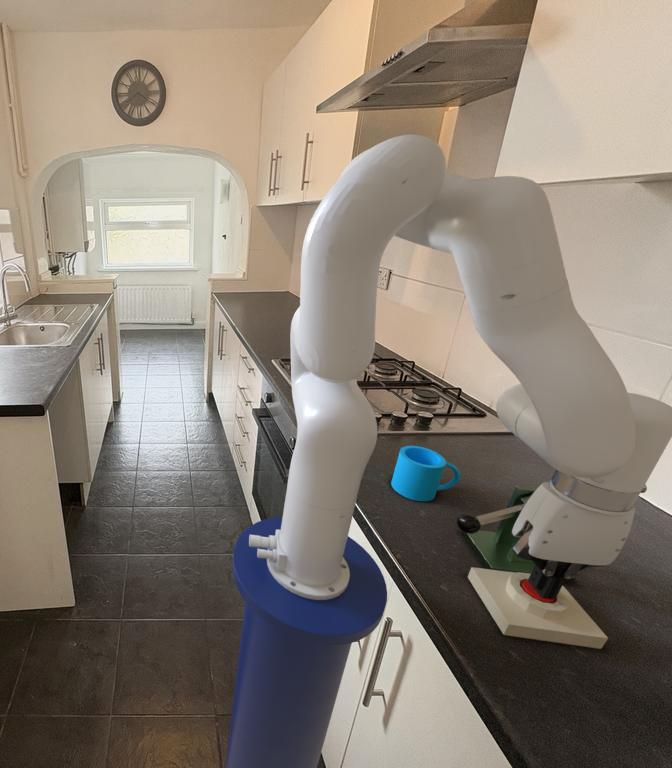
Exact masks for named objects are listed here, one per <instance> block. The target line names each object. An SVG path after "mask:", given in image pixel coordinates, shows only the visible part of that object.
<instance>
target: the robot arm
mask: <svg viewBox="0 0 672 768" xmlns="http://www.w3.org/2000/svg"><path fill="white" fill-rule="evenodd" d="M446 160H447V159H446V157H445V153H444V151H443V149H442V147H441V145H440V144H439V143H438V142H436V141H435V140H434V139H432V138H430V137H428V136H426V135H422V134H416V133H413V134H411V133H410V134H409V133H408V134H402V135H398V136H394V137H391V138H387V139H386V140H384V141H382V142H380V143H377V144H375V145H374V146H372V147H370V148H369V149H366V150H364V151H362V152H361V153H359V154H357V155H356V156H355V157H354V158H353V159H352V160H351V161H350V162H349V163H347V165H346V166H345V167H344V169H343V171H341V174H340V175H339V178H338V179H337V180H336V181H335V182H334V183H333V185H332V186H331V187H330V188H329V190H328V191H327V192H326V194H325V195H324V197H323V198H322V200H321V201H320V203H319V204H318V206H317V208H316V209H315V211H314V213H313V214H312V217H311V218H310V221H309V223H308V226H307V229H306V231H305V235H304V239H303V243H302V249H301V250H302V251H301V259H300V285H299V306H298V308H297V309H296V310H295V312H294V314H293V316H292V320H291V323H290V334H289V338H290V339H289V341H290V376H291V397H292V403H293V407H294V412H295V413H294V414H295V418H296V425H297V426H296V427H297V431H296V441H295V445H294V449H293V452H292V456H291V460H290V466H289V471H288V476H287V486H286V493H285V499H284V506H283V511H282V517H283V518H282V524H281V530H278V529H276V533H275V536H273V535H269V537H261V536H258V535H249V547H255V548H260V547H261V548H268V550H264V549H257V558H264V559H266V558H267V566H268V568H269V571H270V572H271V574H272V576H273V577H274V578H275V579H276V581H277V582H278V583H279V584H281V585H282V586H283V587H284V588H285V589H287V590H289V591H290V592H292V593H294V594H296V595H298V596H301V597H304V598H308V599H313V600H328V599H333V598H335V597H337V596H339V595H340V594H342V593H343V592H344V591H345V589H346V588H347V586H348V582H349V577H350V572H349V567H348V565H347V562H346V561H345V559H344V557H343V554H344V550H345V546H346V542H347V537H348V536H349V533H350V530H351V524H352V520H353V516H354V512H355V509H356V503H357V499H358V494H359V490H360V487H361V482H362V479H363V475H364V473H365V470H366V467H367V464H368V463H369V461H370V458H371V456H372V455H373V452H374V450H375V448H376V444H377V441H378V422H377V419H376V415H375V412H374V410H373V408H372V406H371V404H370V402H369V401H368V399H367V398H366V396H365V394H364V392H363V391H362V390H361V388H360V386H359V385H358V378H359V377H360V376H361V375H362V374H363V373H364V372H366V370H367V369H368V368H369V365H370V364H371V363H372V360H373V357H374V354H375V349H376V318H377V317H376V316H377V315H376V314H377V295H378V294H377V293H378V292H377V291H378V282H379V275H380V268H381V262H382V258H383V256H384V254H385V253H384V252H385V251H386V249H387V247H388V245H389V243H390V242H391V240H392V239H393V237H397V238H398V239H399V238H400V239H402V240H404V241H408V242H410V243H413V244H416V245H419V246H422V247H426V248H430V249H432V250H435V251H439V252H442V253H445V254H450V255H452V256H453V259H454V263H455V265H456V269H457V273H458V275H459V278H460V282H461V284H462V288H463V291H464V294H465V298H466V300H467V301H466V302H467V304H468V307H469V308H468V309H469V310H470V314H471V317H472V321H473V324H474V327H475V330H476V332H477V333H478V334H479V336H480V337H481V339H482V340H483V342H484V343H485V345H486V346H487V347H488V348H489V350H490V351H491V352H492V353H493V354H494V356H496V357H497V358H498V359H499V360H500V361H501V362H502V363H503V364H504V365H505V366H506V368H508V369H509V370H510V372H512V374H513V375H514V376H515V378H516V379H517V381H518V382H519V383H518V384H515V385H513V386H511V387H508V388H507V389H506V390H505V391H503V392H502V393H501V394H500V396H499V397H498V399H497V401H496V405H495V410H496V415H497V417H498V419H499V420H500V422H501V423H502V425H503V426H505V428H506V429H507V430H509V431H510V433H512V434H513V435H514V436H515V437H516V438H518V439H519V440H520V441H521V442H522V443H523V444H525V445H526V446H527V447H528V448H530V449H531V450H532V451H533V452H535V454H537V455H538V456H539V457H540V458H541V459H542V460H543V461H545V462H546V463H547V464H548V465H549V466H550V467H552V468H553V469H554V473H553V475H552V478H551V479H550V481H543V482H542V483H541V484H540V485H539V486H538V487H536V488H537V489H536V491H535V492H534V493H533V494H532V496H531V497H530V498H529V500H528V501H527V503H526V504H525V506H524V508H523V509H522V511H521V513H520V515H519V516H518V518H517V520H516V522H515V524H514V527H513V530H512V534H513V535H514V536H515V537H518V538H520V540H519V541H518V542H517V543H516V544H515V545H514V547H513V548H512V550H513V552H514V553H515V554H516V555H517V557H519V558H522V559H525V560H528V561H533V562H534V563H535V566H534V568H533V570H532V572H531V574H530V576H529V579H528V581H529V583H530V584H531V585H532V587H533V588H534V589H535V590H536V592H537V593H538V594H539V596H540V597H541V598H547V597H549V598H550V599H556V597H557V595H558V593H559V591H560V589H561V587H562V585H563V586H564V583H566V582H565V579H571V578H573V577H575V576H576V575H577V573H578V572H580V571H582V570H585V569H587V568H603V567H605V566H609V565H611V564H612V563H613V562H615V560H616V559H617V558H618V556H619V555H620V553H621V551H622V549H623V547H624V545H625V543H626V541H627V539H628V537H629V534H630V531H631V528H632V526H633V522H634V518H635V512H636V506H635V504H636V502H637V500H638V498H639V497H640V495H641V494H644V493H646V492H647V490H648V487H647V482H648V480H649V478H650V476H651V475H652V473H653V471H654V470H655V468H656V466H657V465H658V462H659V461H660V459H661V457H662V456H663V454H664V452H665V450H666V449H667V446H668V445H669V443H670V441H671V439H672V406H671V405H670V404H667V403H666V402H663V401H661V400H658V399H656V398H653V397H650V396H646V395H643V394H638V393H633V392H628V391H627V388H626V385H625V383H624V380H623V378H622V377H621V374H620V373H619V371H618V369H617V368H616V366H615V365H614V362H613V361H612V360H611V358H610V357H609V356H608V354H607V352H606V351H605V350H604V348H603V347H602V346H601V344H600V342H599V341H598V339H597V338H596V336H595V334H594V333H593V331H592V329H591V328H590V326H589V325H588V324H587V323H586V321H585V320H584V318H583V317H582V316H581V314H580V313H579V312H578V310H577V309H576V307H575V303H574V301H573V298H572V293H571V289H570V284H569V280H568V277H567V273H566V269H565V265H564V264H565V263H564V259H563V256H562V251H561V247H560V241H559V238H558V234H557V233H558V232H557V229H556V224H555V221H554V217H553V211H552V209H551V205H550V201H549V199H548V196H547V194H546V192H545V190H544V189H543V188H542V186H541V185H540V184H539V183H538V182H536V181H535V180H532V179H529V178H527V177H523V176H516V175H502V176H490V177H482V178H471V177H467V176H462V175H458V174H455V173H451V172H449V171H447V161H446ZM544 559H545V560H544Z"/></svg>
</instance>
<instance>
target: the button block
mask: <svg viewBox="0 0 672 768" xmlns="http://www.w3.org/2000/svg"><path fill="white" fill-rule="evenodd" d="M529 576H530V574H529V573H521V572H517V573H515V572H506V571H498V570H490V569H487V568H481V567H472V566H471V567H470V570H469V572H468V575H467V579H468V581H469V582H470V583H471V585H472V587H473V588H474V590H475V592H476V593H477V595H478V596H479V598H480V599H481V601H482V603H483V604H484V606H485V608H486V609H487V611H488V612H489V614H490V616H491V617H492V619H493V620H494V622H495V624H496V626H497V627H498V628H499V630H500V632H501V633H502V634H503V636H509V637H515V638H523V639H530V640H536V641H543V642H545V641H546V642H551V643H558V644H565V645H571V646H578V647H586V648H592V649H599V650H600V649H602V648H604V646H605V644H606V642H607V641H608V639H609V637H608V636H607V635H606V634H605V632H603V630H602V629H601V628H600V627H599V625H598V624H597V623H596V622H595V621H594V620H593V618H591V616H590V615H589V614H588V613H587V612H586V610H584V608H583V607H582V606H581V605H580V604H579V602H578V601H577V600H576V598H574V597H573V596H572V594H571V592H569V590H567V588H566V587H565V586H564V584H563V585H562V587H561V589H560V591H559V593H558V595H557V597H556V599H554V601H553V603H552V604H551V603H543V602H541V601H539V600H536V599H534V598H532V597H531V596H530V595H528V594H527V593H525V592H524V590H523V589H522V588H521V585H522V583H523V581H525V580H528V579H529Z"/></svg>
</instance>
